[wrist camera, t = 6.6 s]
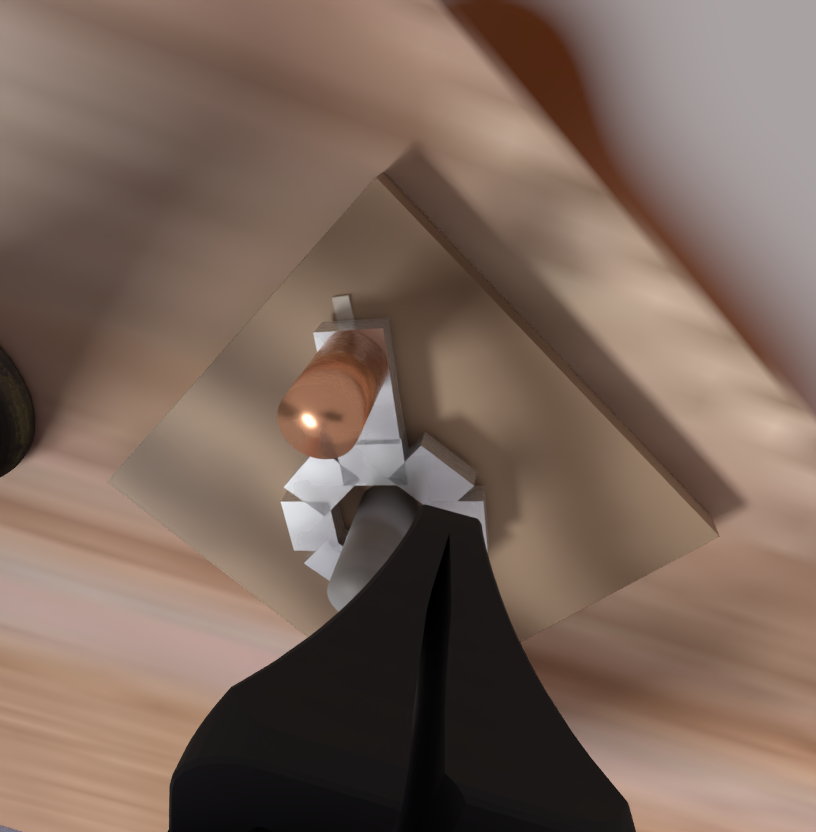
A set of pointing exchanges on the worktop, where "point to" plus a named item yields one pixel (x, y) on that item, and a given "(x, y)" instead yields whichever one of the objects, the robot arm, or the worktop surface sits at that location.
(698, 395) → the worktop surface
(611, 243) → the worktop surface
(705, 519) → the jig base
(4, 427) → the container
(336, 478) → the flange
